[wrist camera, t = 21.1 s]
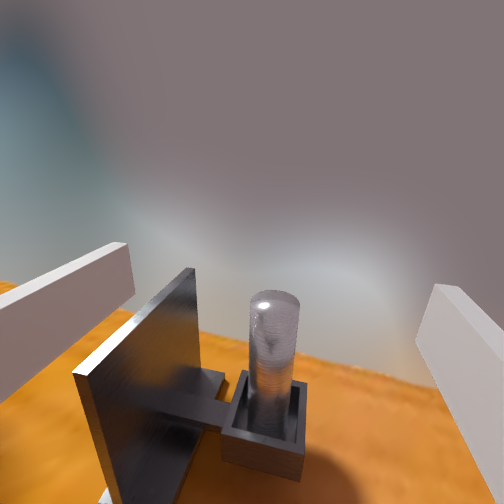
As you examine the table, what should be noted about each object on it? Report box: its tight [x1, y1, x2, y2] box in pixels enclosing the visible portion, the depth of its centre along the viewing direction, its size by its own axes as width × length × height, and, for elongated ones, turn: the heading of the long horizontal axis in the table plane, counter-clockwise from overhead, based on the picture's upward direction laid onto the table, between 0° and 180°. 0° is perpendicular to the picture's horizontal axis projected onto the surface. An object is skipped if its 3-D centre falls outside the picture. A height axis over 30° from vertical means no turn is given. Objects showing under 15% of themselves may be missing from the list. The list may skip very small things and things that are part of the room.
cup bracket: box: [72, 268, 307, 504], centre depth 29 cm, size 19×18×19 cm
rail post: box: [247, 290, 300, 440], centre depth 26 cm, size 4×4×16 cm
